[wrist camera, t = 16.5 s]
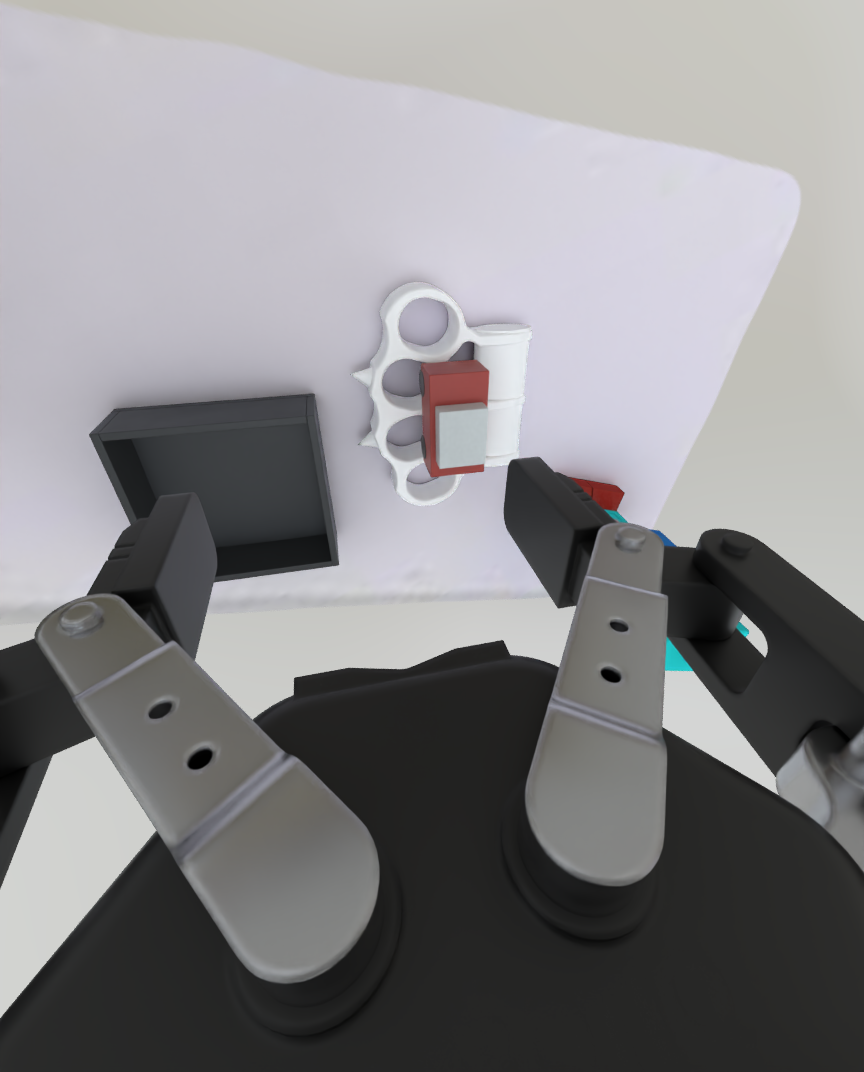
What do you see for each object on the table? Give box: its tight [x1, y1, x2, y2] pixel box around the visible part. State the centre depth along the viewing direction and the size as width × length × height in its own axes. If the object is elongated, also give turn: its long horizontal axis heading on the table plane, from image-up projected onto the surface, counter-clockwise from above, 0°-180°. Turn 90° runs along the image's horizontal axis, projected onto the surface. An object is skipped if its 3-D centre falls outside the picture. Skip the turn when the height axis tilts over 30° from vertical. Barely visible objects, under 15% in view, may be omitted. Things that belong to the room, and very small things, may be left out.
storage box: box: [89, 394, 339, 582], centre depth 39 cm, size 15×14×5 cm
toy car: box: [419, 360, 489, 477], centre depth 36 cm, size 8×4×5 cm, turn 1°
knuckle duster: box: [350, 282, 532, 506], centre depth 39 cm, size 3×18×15 cm
